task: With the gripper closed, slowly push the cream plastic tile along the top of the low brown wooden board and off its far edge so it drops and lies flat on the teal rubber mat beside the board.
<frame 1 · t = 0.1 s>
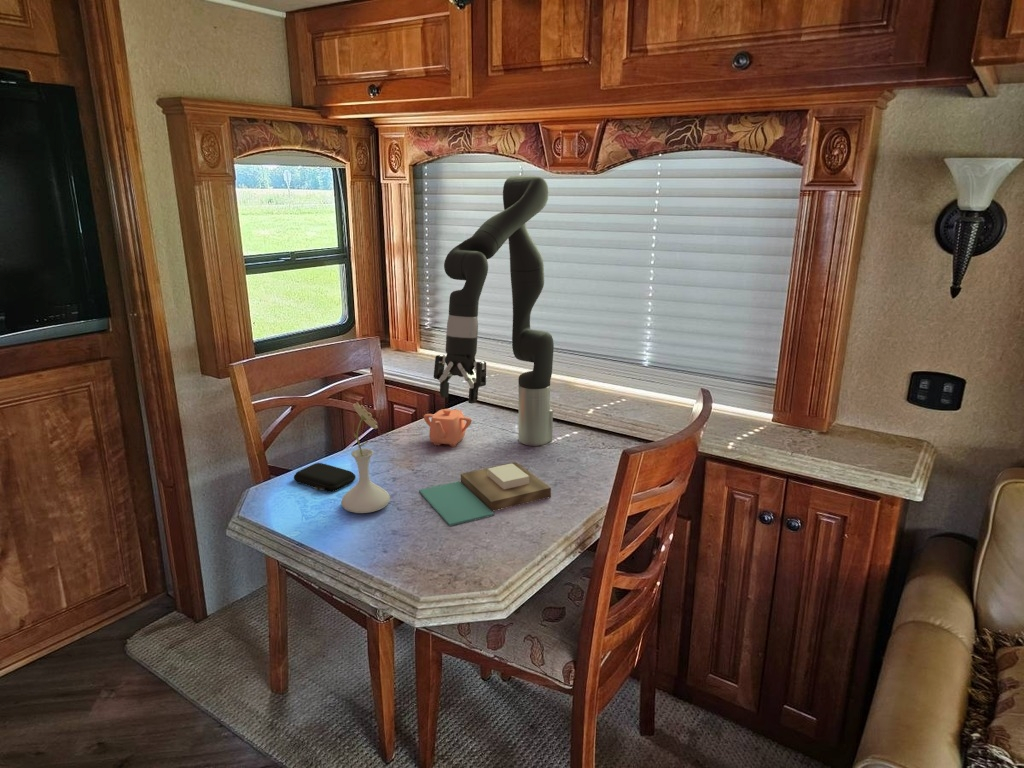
hand: (458, 400, 167), 22 cm above the table, tool pointing down, fingers open, 8 cm apart
brown wooden board: (504, 489, 170), on the table
flower in vase: (365, 506, 162), on the table
mat: (455, 503, 163), on the table
teapot: (448, 442, 202), on the table
tile: (508, 479, 170), point 2 cm above the table, touching brown wooden board
carrying case or bag: (323, 484, 175), on the table
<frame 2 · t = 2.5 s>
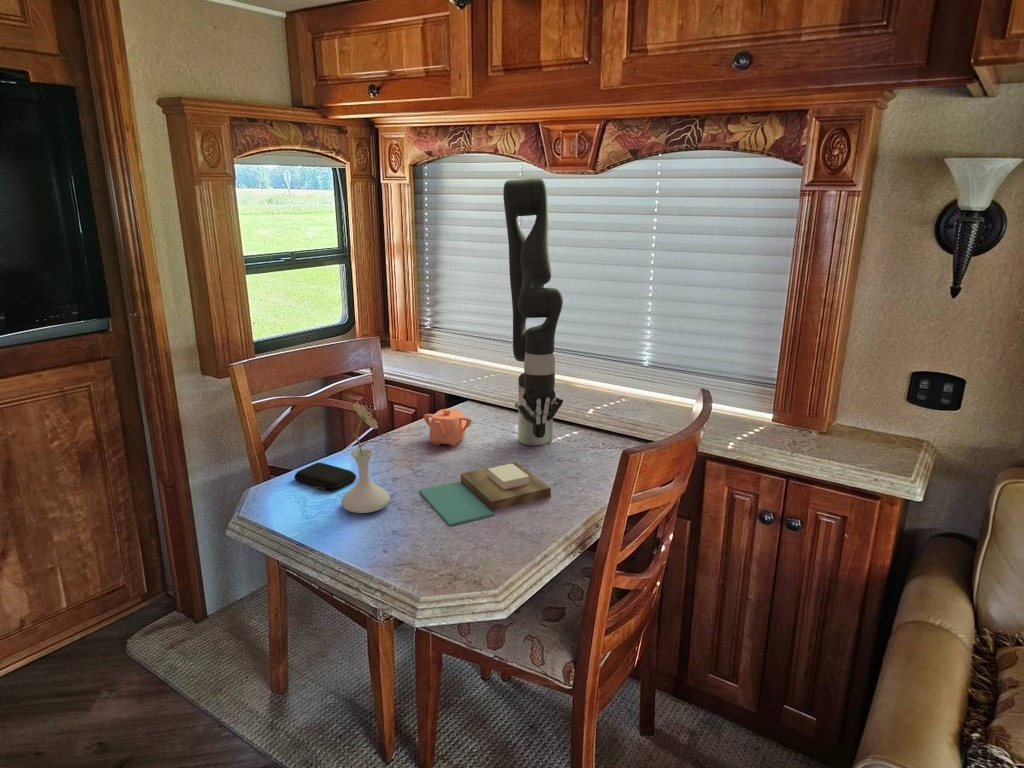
hand: (538, 436, 171), 12 cm above the table, tool pointing down, fingers closed
nothing on the table moved.
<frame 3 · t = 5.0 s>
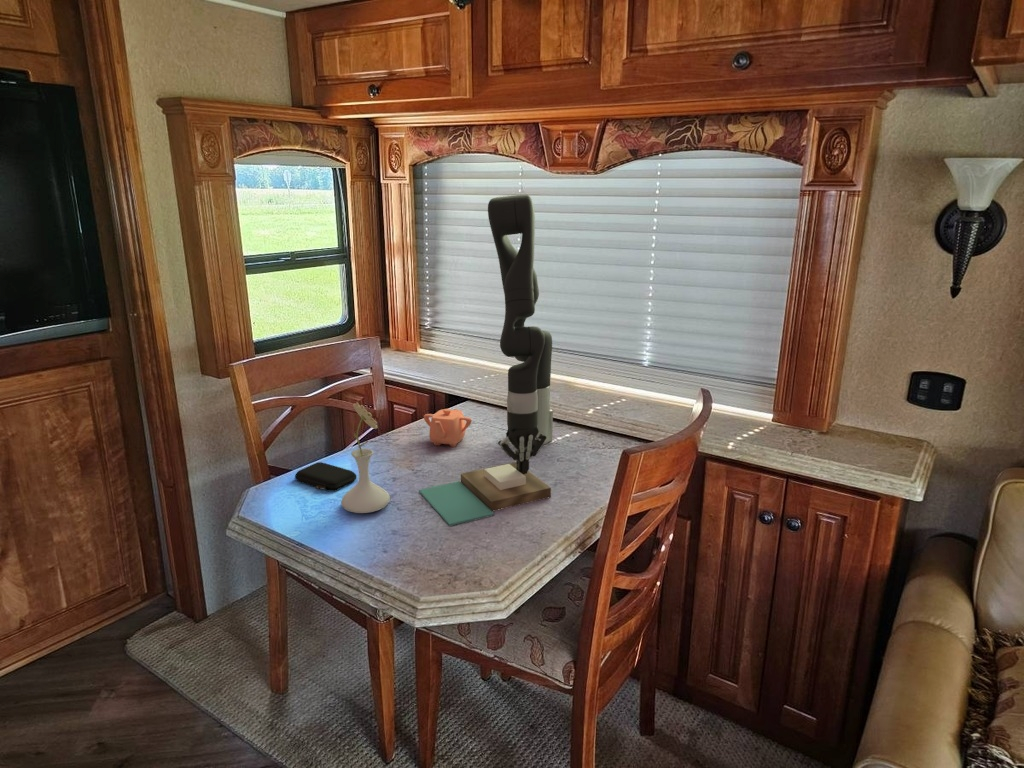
hand: (522, 473, 171), 4 cm above the table, tool pointing down, fingers closed
tile: (504, 480, 170), point 3 cm above the table, touching gripper
everything else where it was.
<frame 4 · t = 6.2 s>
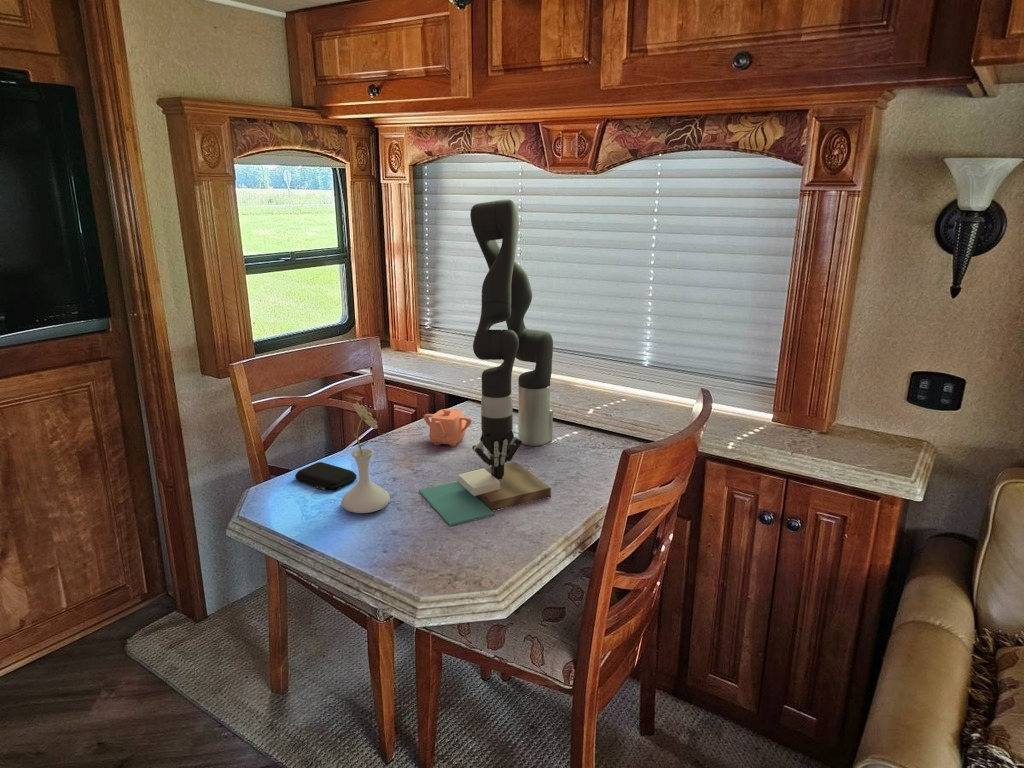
hand: (497, 478, 168), 4 cm above the table, tool pointing down, fingers closed
tile: (479, 485, 167), point 3 cm above the table
everything else where it was.
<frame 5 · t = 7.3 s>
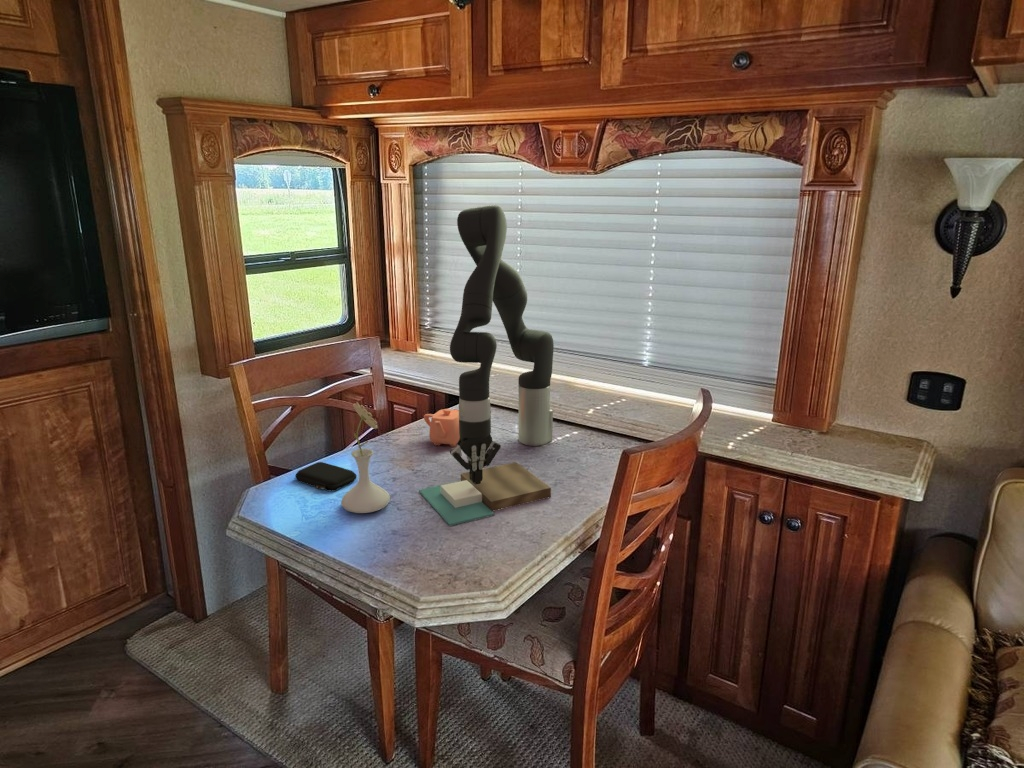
hand: (476, 482, 166), 4 cm above the table, tool pointing down, fingers closed
tile: (461, 497, 165), resting on mat
everything else where it was.
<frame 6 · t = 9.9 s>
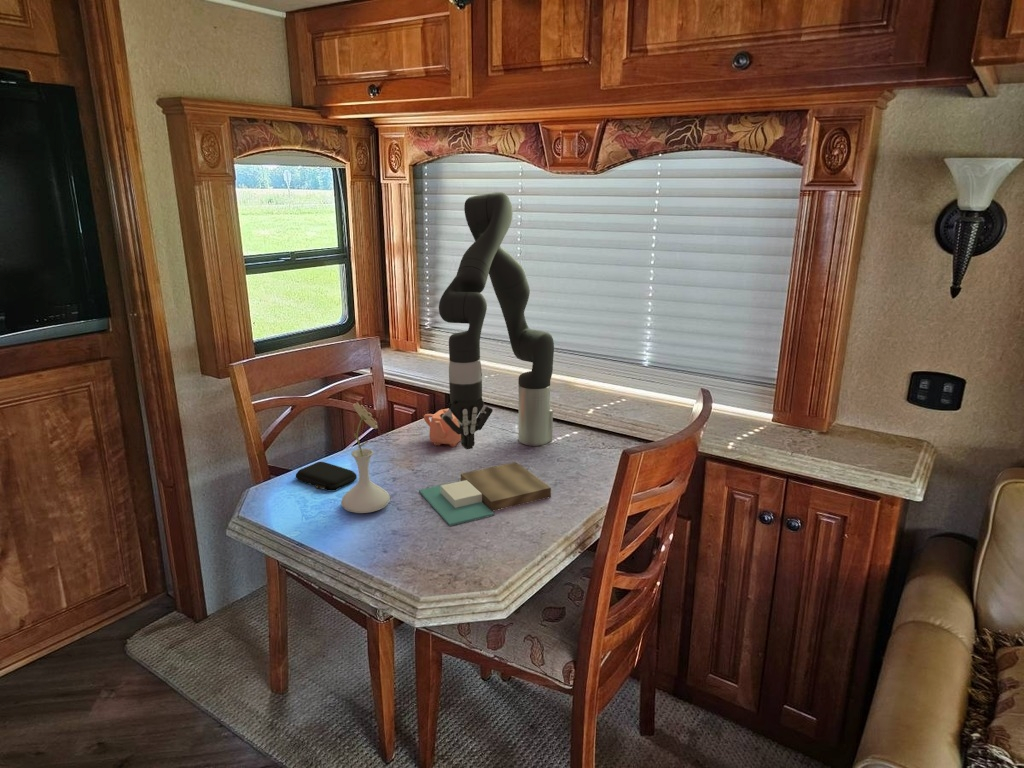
hand: (467, 448, 162), 13 cm above the table, tool pointing down, fingers closed
nothing on the table moved.
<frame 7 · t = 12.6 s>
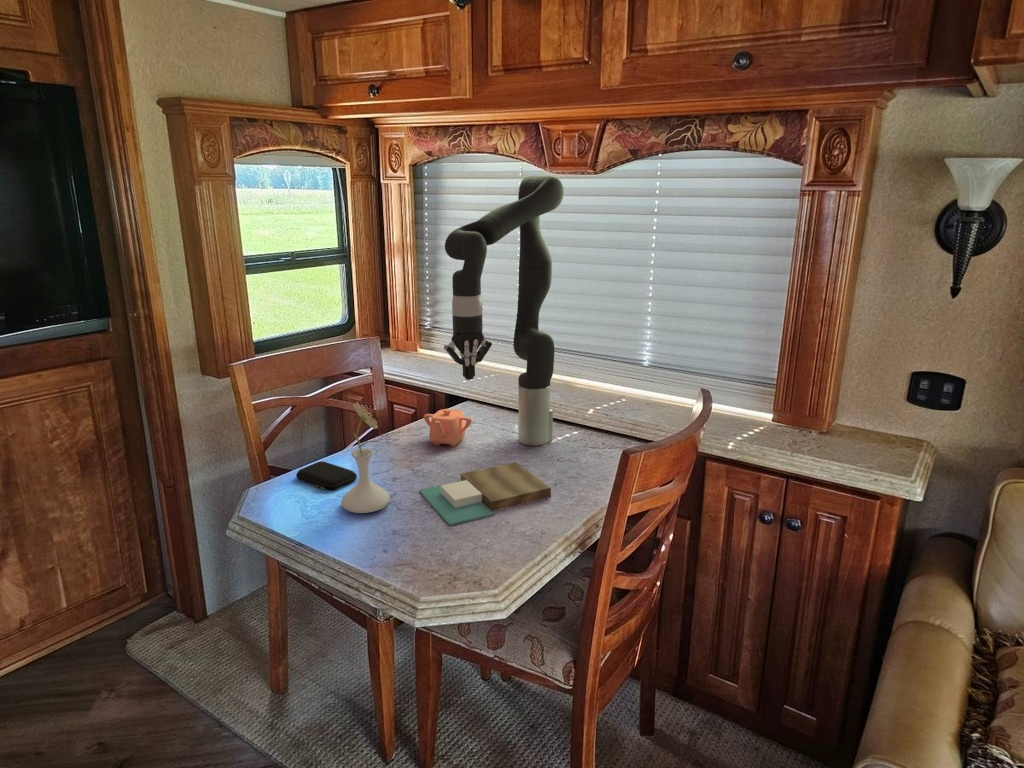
hand: (468, 378, 176), 25 cm above the table, tool pointing down, fingers closed
nothing on the table moved.
at the end: tile inside the target area on the mat (2.5 cm from its centre), point 0.5 cm above the mat's base; tile tilted 0°; tile touching mat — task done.
